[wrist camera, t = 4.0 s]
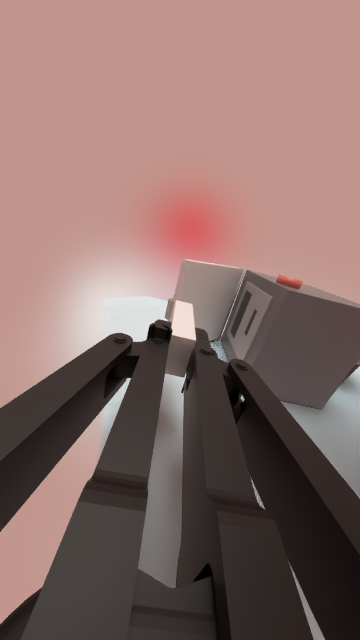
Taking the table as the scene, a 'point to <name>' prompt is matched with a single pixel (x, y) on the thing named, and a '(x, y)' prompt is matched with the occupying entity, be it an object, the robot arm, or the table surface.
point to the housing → (293, 337)
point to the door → (207, 293)
